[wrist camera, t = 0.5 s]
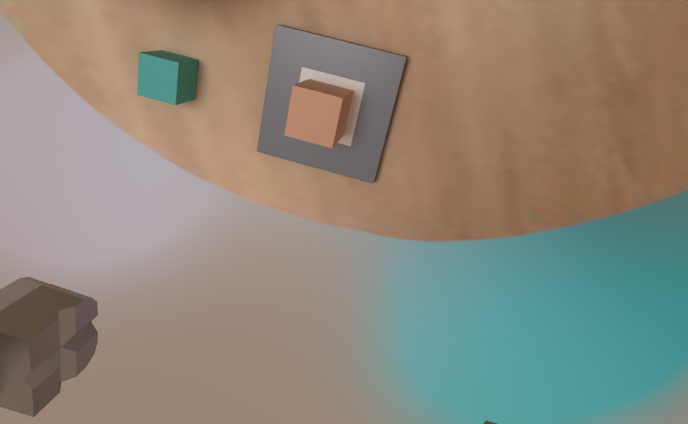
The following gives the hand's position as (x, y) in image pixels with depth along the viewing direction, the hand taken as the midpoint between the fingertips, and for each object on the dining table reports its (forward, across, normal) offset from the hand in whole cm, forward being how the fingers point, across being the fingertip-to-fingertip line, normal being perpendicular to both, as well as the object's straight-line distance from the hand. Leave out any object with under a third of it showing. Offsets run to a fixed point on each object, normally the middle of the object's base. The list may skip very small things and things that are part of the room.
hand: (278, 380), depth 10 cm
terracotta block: (+44, +8, +4) cm, 44 cm away
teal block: (+45, +26, +4) cm, 52 cm away
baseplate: (+45, +8, +4) cm, 46 cm away
